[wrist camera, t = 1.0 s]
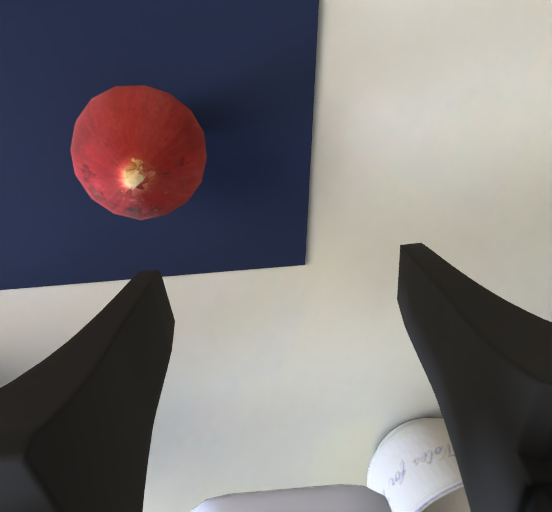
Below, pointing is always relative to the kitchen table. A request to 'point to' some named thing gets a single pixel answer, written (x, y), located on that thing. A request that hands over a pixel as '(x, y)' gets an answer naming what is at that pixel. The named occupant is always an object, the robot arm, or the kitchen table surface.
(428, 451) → the teacup
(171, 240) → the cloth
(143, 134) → the onion
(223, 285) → the kitchen table surface
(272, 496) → the robot arm
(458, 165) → the kitchen table surface
